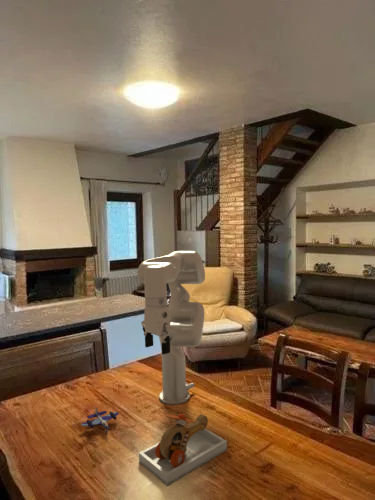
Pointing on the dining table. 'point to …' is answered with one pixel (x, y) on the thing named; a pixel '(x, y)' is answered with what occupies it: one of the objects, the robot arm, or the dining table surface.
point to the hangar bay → (197, 454)
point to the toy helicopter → (179, 438)
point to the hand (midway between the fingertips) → (157, 349)
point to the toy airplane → (100, 419)
